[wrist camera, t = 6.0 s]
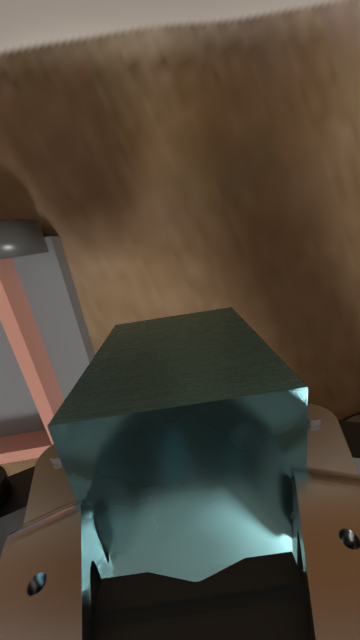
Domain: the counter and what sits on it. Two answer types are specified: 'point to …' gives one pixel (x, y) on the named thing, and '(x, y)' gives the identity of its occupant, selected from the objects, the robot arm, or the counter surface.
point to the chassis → (36, 337)
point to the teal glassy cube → (185, 444)
